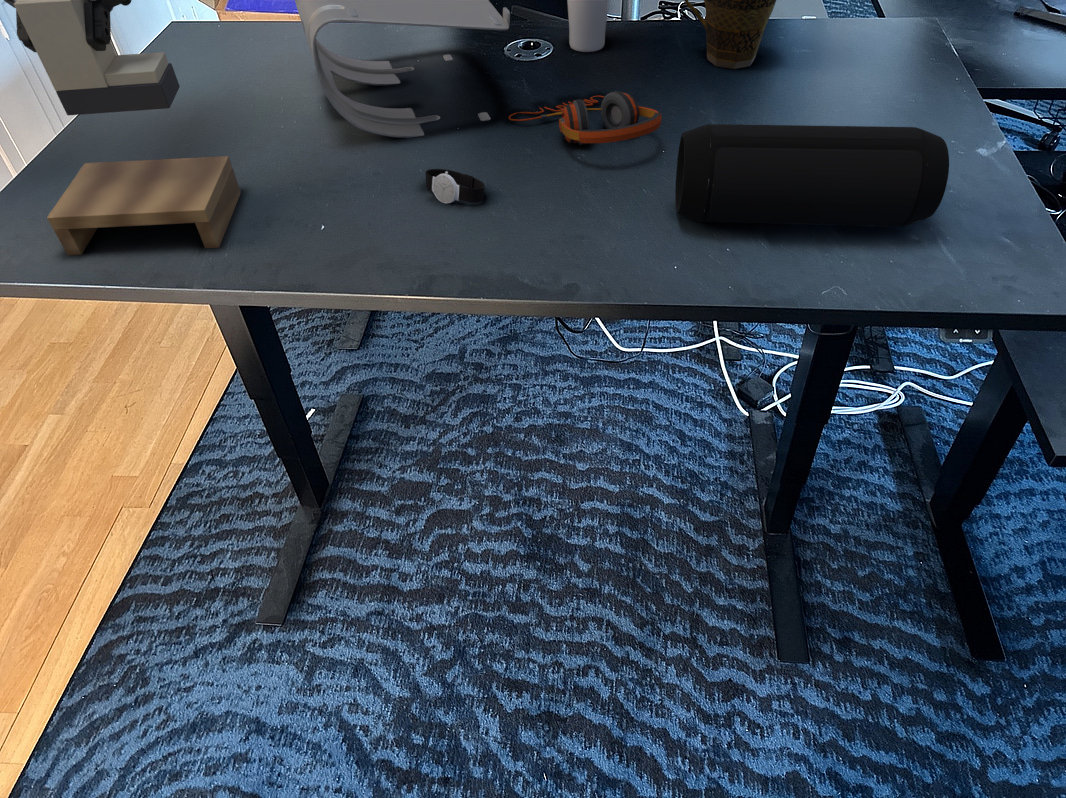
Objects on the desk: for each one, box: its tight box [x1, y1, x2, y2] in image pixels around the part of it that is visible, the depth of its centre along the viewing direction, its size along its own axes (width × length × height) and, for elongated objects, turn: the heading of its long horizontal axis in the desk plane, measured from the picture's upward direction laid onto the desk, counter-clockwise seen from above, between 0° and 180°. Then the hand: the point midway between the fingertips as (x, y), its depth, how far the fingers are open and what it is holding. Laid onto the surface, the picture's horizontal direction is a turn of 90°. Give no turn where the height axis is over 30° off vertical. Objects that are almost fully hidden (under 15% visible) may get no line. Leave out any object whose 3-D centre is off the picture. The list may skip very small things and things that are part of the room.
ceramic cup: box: [684, 0, 777, 70], centre depth 109 cm, size 13×10×10 cm
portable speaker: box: [674, 123, 950, 228], centre depth 80 cm, size 26×10×10 cm, turn 85°
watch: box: [425, 168, 486, 204], centre depth 87 cm, size 8×5×4 cm, turn 56°
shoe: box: [14, 0, 180, 116], centre depth 75 cm, size 10×5×10 cm, turn 96°
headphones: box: [508, 90, 663, 147], centre depth 96 cm, size 17×5×20 cm
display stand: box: [46, 155, 242, 256], centre depth 84 cm, size 16×11×5 cm
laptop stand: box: [294, 0, 511, 139], centre depth 101 cm, size 26×24×16 cm
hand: (64, 47), depth 73 cm, fingers closed on shoe, 5 cm apart
